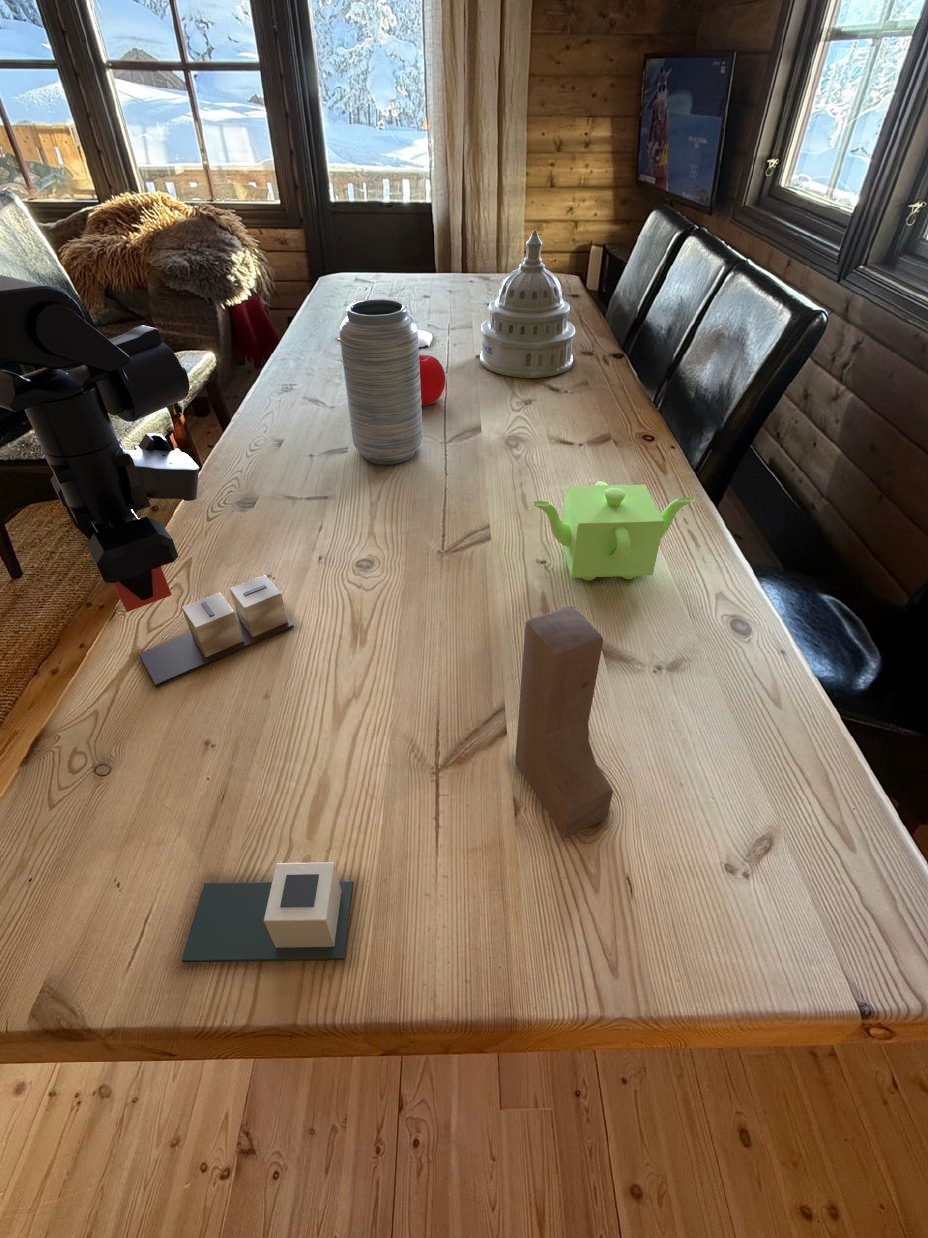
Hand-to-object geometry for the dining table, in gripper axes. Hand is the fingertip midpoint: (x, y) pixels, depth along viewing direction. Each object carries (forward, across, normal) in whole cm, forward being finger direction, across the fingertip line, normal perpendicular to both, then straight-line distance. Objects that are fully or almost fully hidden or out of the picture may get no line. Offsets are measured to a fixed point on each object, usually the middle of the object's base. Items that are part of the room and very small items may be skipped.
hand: (140, 586), depth 66 cm
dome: (+11, +47, -92) cm, 104 cm away
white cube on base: (+10, -34, +3) cm, 35 cm away
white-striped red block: (+1, 0, 0) cm, 1 cm away
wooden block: (+11, -38, -23) cm, 46 cm away
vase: (+11, +28, -46) cm, 55 cm away
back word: (+10, 0, -5) cm, 12 cm away
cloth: (+11, +78, -76) cm, 109 cm away
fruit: (+11, +42, -62) cm, 76 cm away
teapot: (+11, -16, -52) cm, 55 cm away
